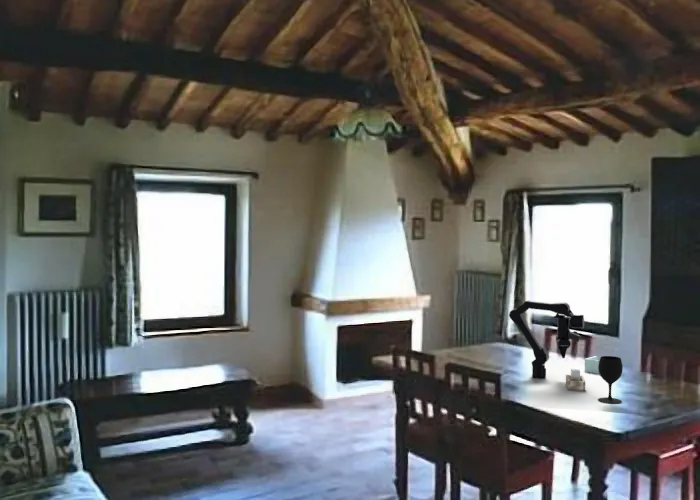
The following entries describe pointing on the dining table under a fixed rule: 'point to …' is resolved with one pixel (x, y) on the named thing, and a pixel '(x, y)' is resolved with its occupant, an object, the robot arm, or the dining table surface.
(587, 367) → the l-shaped corner panel
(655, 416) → the dining table surface
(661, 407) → the dining table surface
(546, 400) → the dining table surface
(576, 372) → the light grey rectangular block
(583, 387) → the beige tray
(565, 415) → the dining table surface
